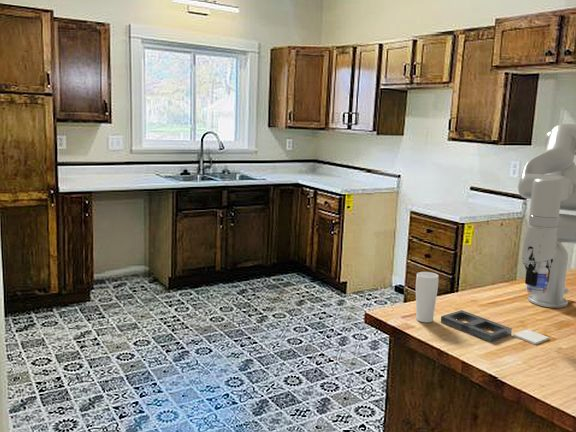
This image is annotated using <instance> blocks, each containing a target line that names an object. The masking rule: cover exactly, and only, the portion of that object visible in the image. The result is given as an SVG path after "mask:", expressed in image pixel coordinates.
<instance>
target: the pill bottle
mask: <svg viewBox="0 0 576 432" xmlns="http://www.w3.org/2000/svg"><path fill="white" fill-rule="evenodd" d="M534 260H535V259H532V261H534ZM531 264H532V265H533V267H534V264H535V263H531ZM546 265H547V261H544V262H539V265H538V268H537V271H536V272H537V273H538V276H537V285H536V286H531V285H528V284H526V286H525V287H526V288H525V291H526V293H528V294H529V295H530V294H534V295H545V294H546V291H547V282H548V272H549V271H548V269H547V268H546V267H545V266H546Z"/></svg>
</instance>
